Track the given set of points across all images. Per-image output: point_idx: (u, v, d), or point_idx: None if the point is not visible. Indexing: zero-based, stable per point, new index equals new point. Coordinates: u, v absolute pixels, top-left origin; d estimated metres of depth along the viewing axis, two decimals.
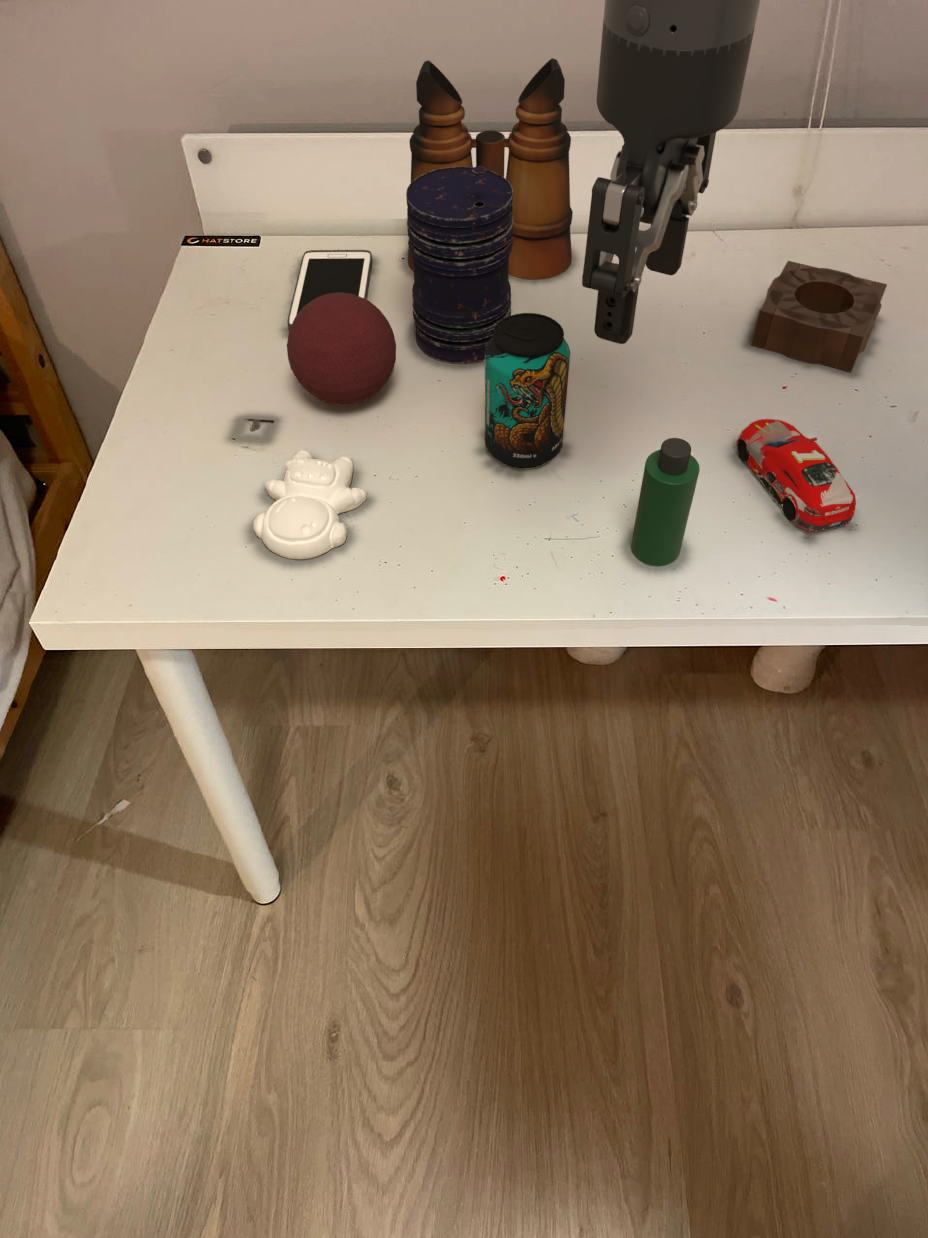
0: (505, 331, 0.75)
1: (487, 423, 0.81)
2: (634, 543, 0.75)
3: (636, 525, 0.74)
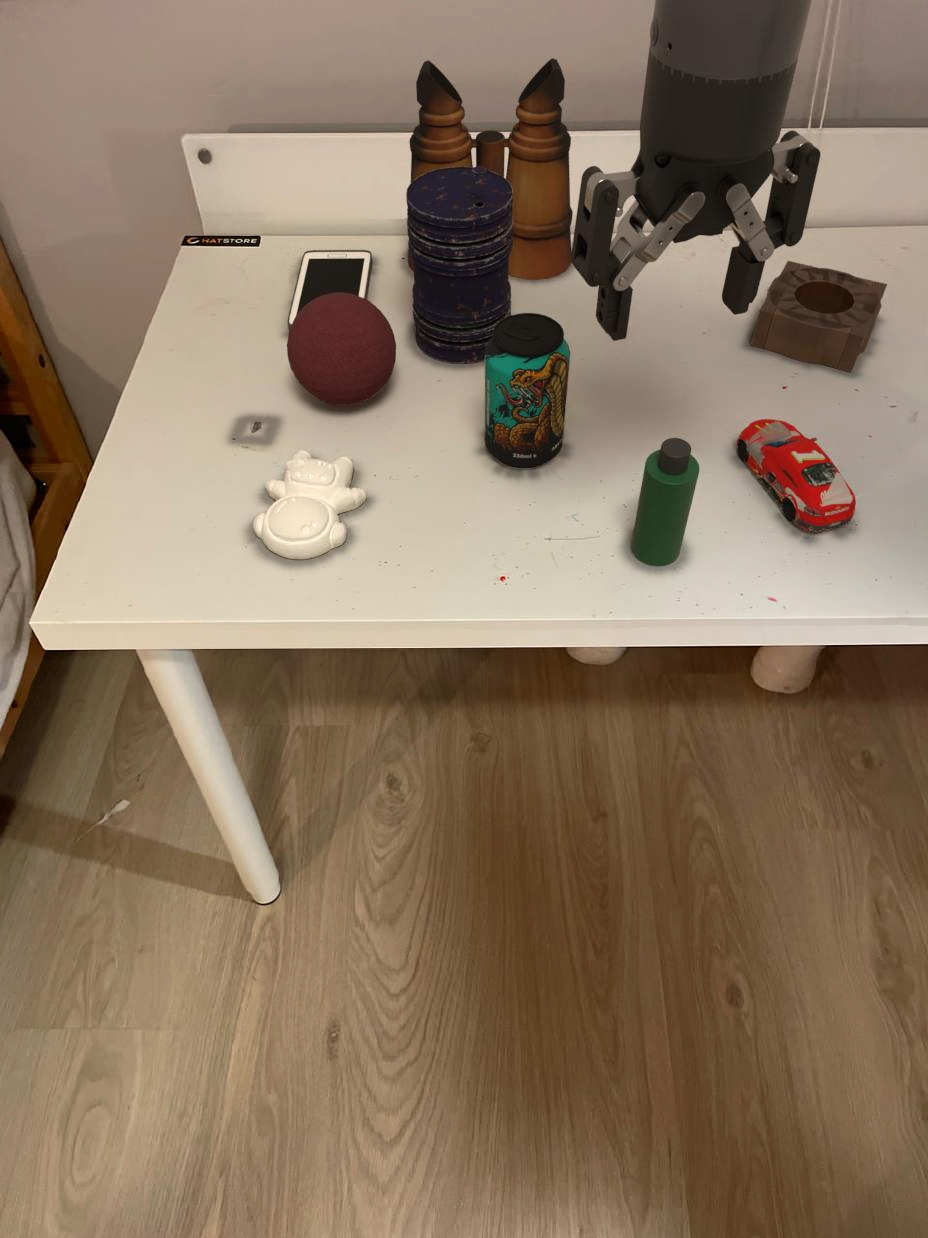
0: (505, 331, 0.75)
1: (487, 423, 0.81)
2: (634, 543, 0.75)
3: (636, 525, 0.74)
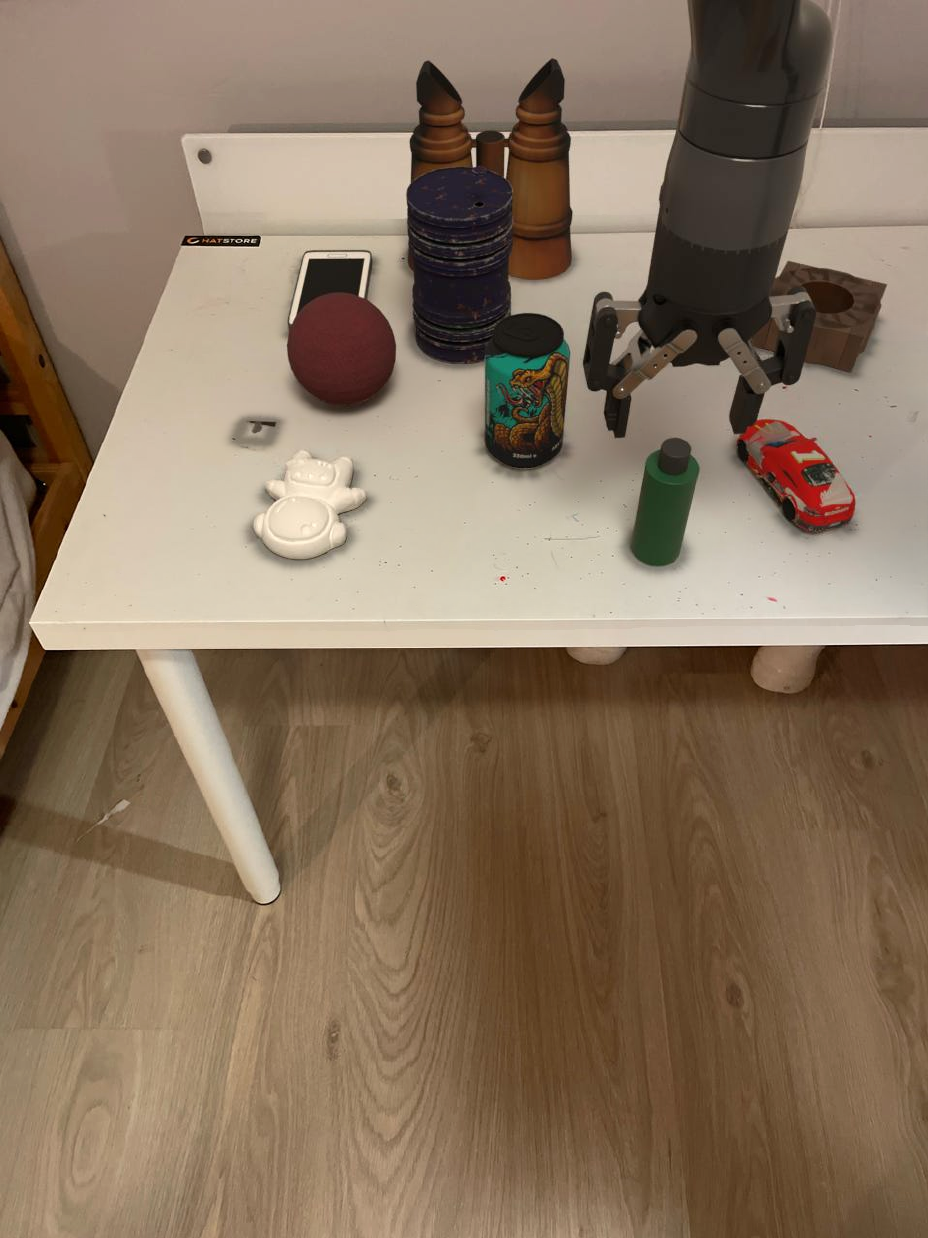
0: (505, 331, 0.75)
1: (487, 423, 0.81)
2: (634, 543, 0.75)
3: (636, 525, 0.74)
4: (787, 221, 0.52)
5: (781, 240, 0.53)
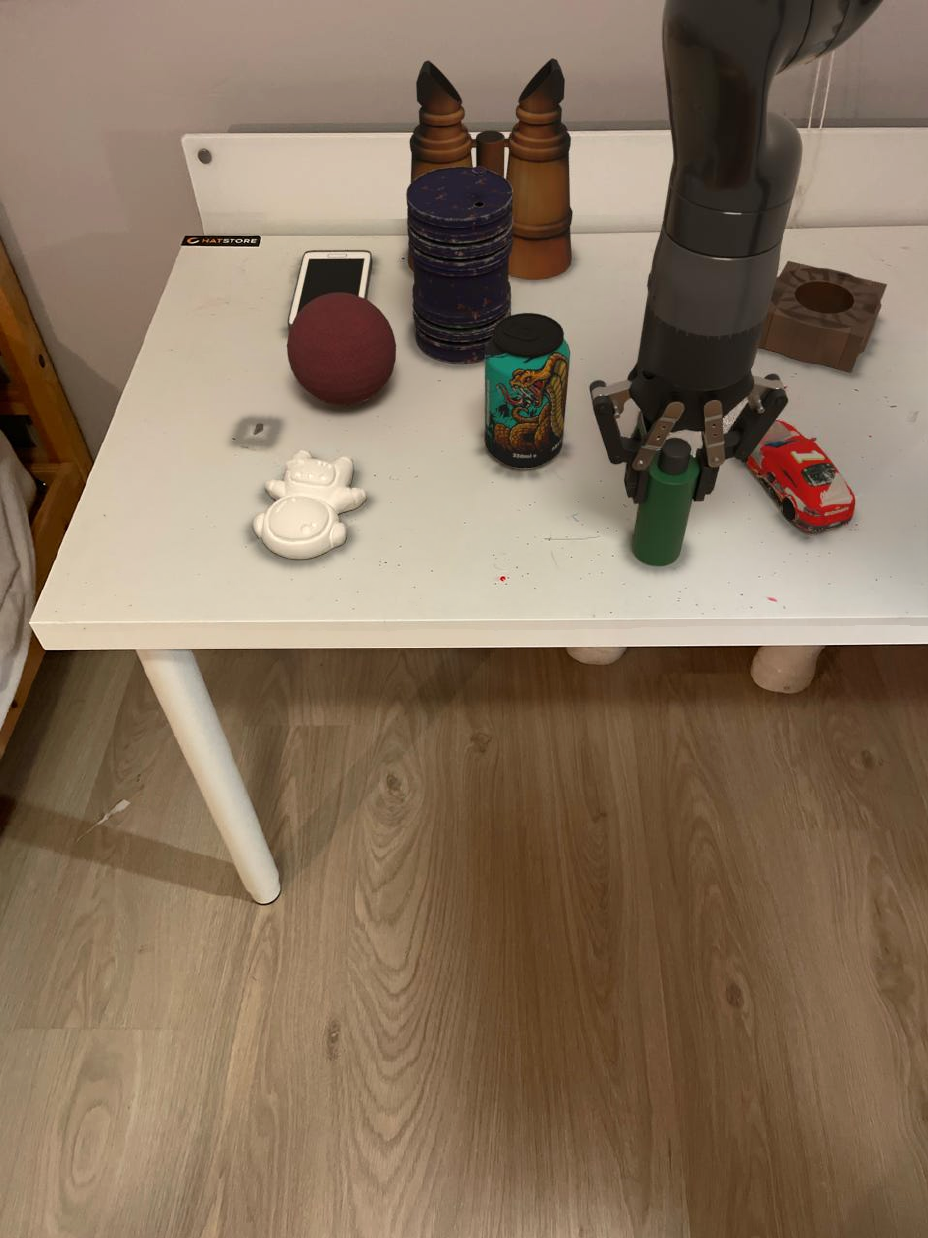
0: (505, 331, 0.75)
1: (487, 423, 0.81)
2: (634, 543, 0.75)
3: (636, 525, 0.74)
4: (765, 308, 0.56)
5: (760, 325, 0.57)
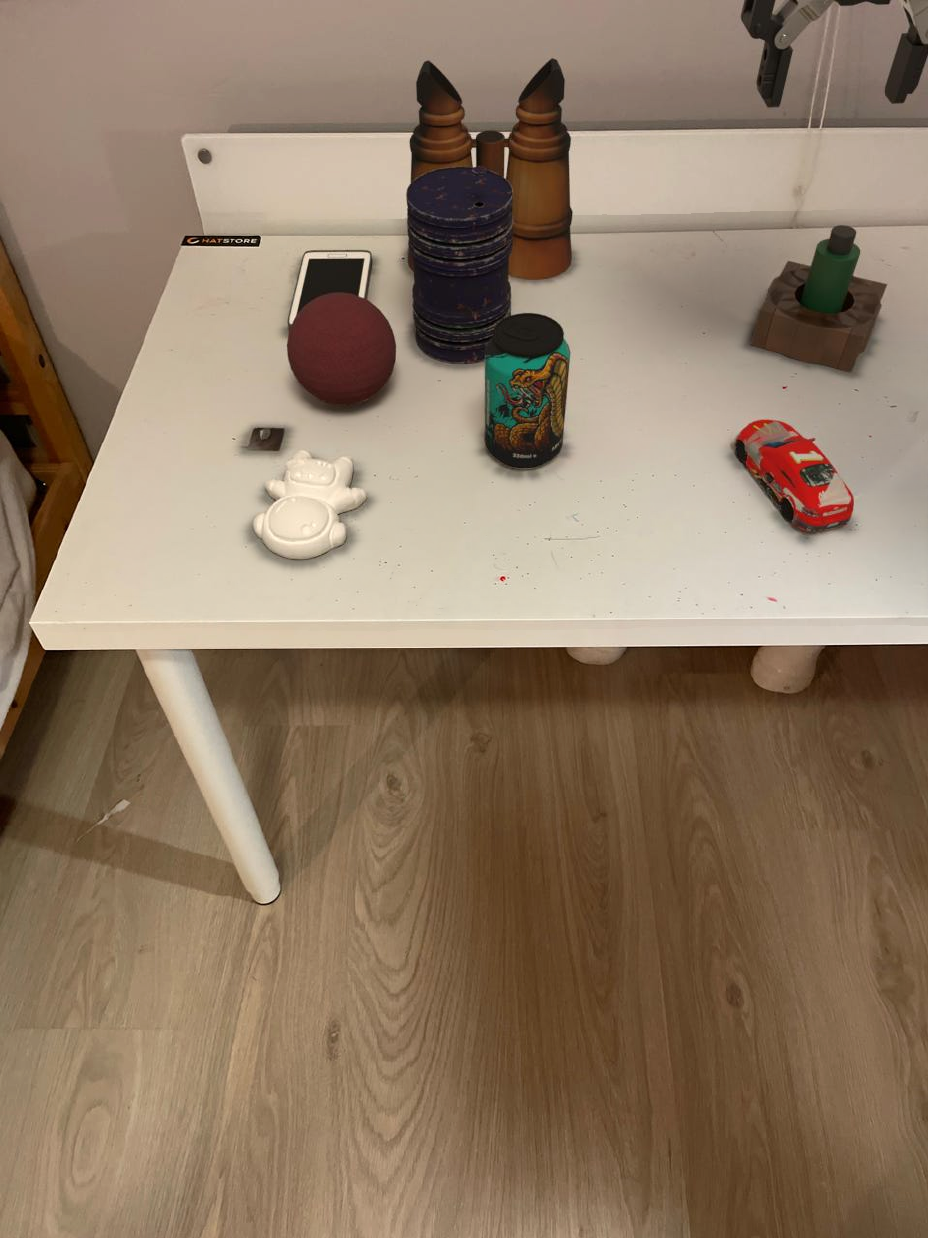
0: (505, 331, 0.75)
1: (487, 423, 0.81)
2: None
3: None
4: None
5: None
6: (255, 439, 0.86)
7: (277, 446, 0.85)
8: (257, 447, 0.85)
